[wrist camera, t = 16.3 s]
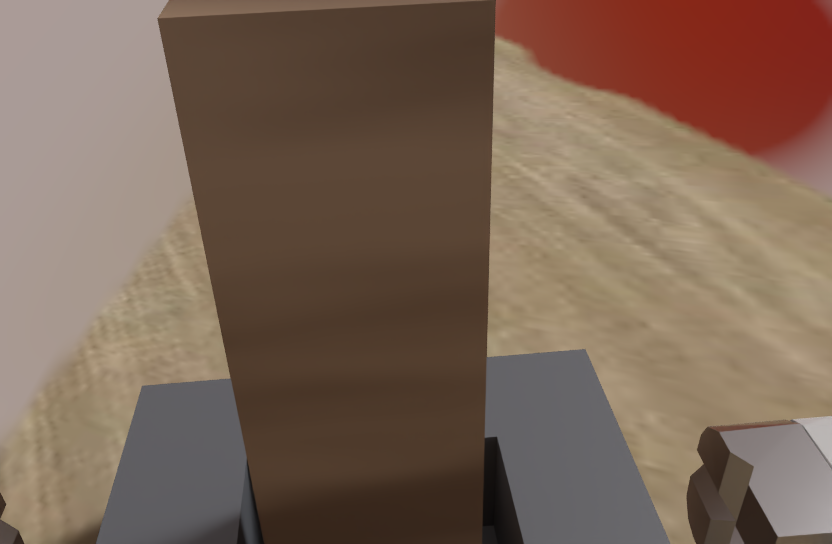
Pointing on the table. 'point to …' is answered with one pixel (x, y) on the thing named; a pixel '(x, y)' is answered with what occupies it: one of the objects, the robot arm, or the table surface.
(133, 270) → the table surface
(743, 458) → the robot arm
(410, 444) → the brown rectangular bar
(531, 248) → the table surface
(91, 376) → the table surface
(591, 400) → the grey socket base
